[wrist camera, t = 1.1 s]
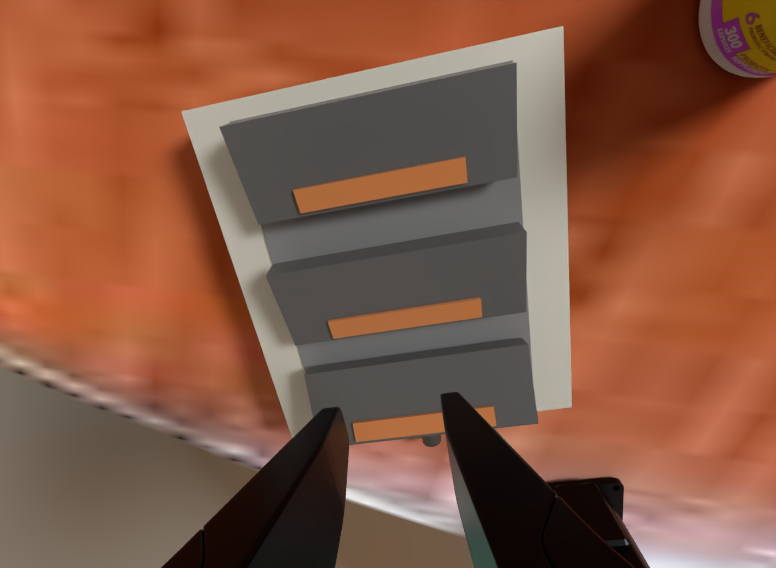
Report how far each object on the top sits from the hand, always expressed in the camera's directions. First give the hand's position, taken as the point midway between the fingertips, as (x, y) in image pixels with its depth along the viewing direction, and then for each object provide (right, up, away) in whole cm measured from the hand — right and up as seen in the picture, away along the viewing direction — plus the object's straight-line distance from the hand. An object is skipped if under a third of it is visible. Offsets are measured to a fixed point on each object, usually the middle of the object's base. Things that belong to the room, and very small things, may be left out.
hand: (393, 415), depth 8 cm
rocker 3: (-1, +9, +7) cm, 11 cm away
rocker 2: (0, +3, +9) cm, 9 cm away
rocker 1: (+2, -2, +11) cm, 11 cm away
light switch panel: (+1, +3, +13) cm, 13 cm away
